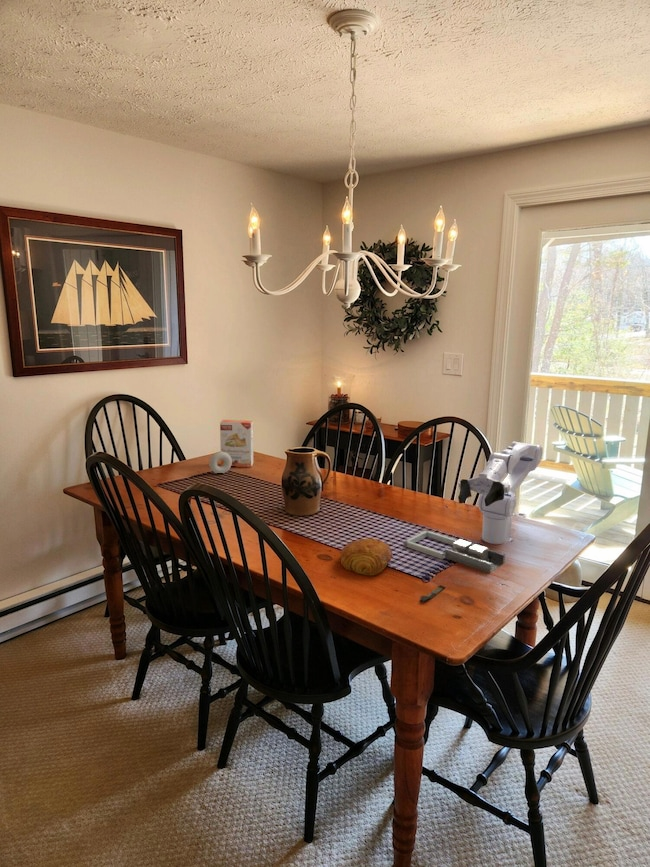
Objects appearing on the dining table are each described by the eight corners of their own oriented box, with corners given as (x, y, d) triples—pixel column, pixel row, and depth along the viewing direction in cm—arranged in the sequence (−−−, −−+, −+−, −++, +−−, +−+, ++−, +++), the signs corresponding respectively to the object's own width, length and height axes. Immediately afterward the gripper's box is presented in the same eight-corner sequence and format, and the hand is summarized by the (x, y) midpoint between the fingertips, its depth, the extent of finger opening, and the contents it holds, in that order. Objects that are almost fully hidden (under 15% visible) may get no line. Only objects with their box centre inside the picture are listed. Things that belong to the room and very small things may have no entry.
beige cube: (459, 551, 166) (459, 538, 165) (471, 555, 163) (472, 542, 162) (452, 555, 163) (452, 542, 162) (464, 559, 160) (465, 546, 160)
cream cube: (474, 556, 163) (475, 543, 162) (487, 560, 160) (488, 547, 159) (467, 561, 160) (468, 547, 159) (480, 565, 157) (481, 552, 156)
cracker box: (220, 467, 254) (219, 421, 249) (223, 463, 259) (222, 419, 255) (251, 468, 253) (250, 422, 248) (253, 464, 259) (253, 420, 254)
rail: (460, 551, 169) (460, 540, 168) (504, 565, 159) (505, 554, 159) (444, 560, 162) (445, 549, 161) (489, 576, 153) (490, 564, 152)
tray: (425, 537, 178) (426, 530, 178) (462, 549, 170) (463, 541, 169) (403, 548, 170) (404, 541, 169) (441, 562, 161) (442, 554, 160)
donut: (210, 476, 240) (210, 453, 237) (208, 474, 243) (207, 451, 240) (233, 473, 244) (232, 451, 242) (230, 471, 247) (230, 449, 245)
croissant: (396, 565, 164) (399, 539, 163) (380, 581, 149) (383, 552, 149) (350, 555, 169) (353, 529, 168) (330, 569, 155) (333, 541, 154)
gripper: (465, 464, 168) (446, 486, 158) (513, 467, 159) (496, 491, 149) (468, 484, 170) (450, 508, 161) (516, 488, 161) (500, 514, 152)
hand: (472, 501), depth 155 cm, fingers open, 7 cm apart
